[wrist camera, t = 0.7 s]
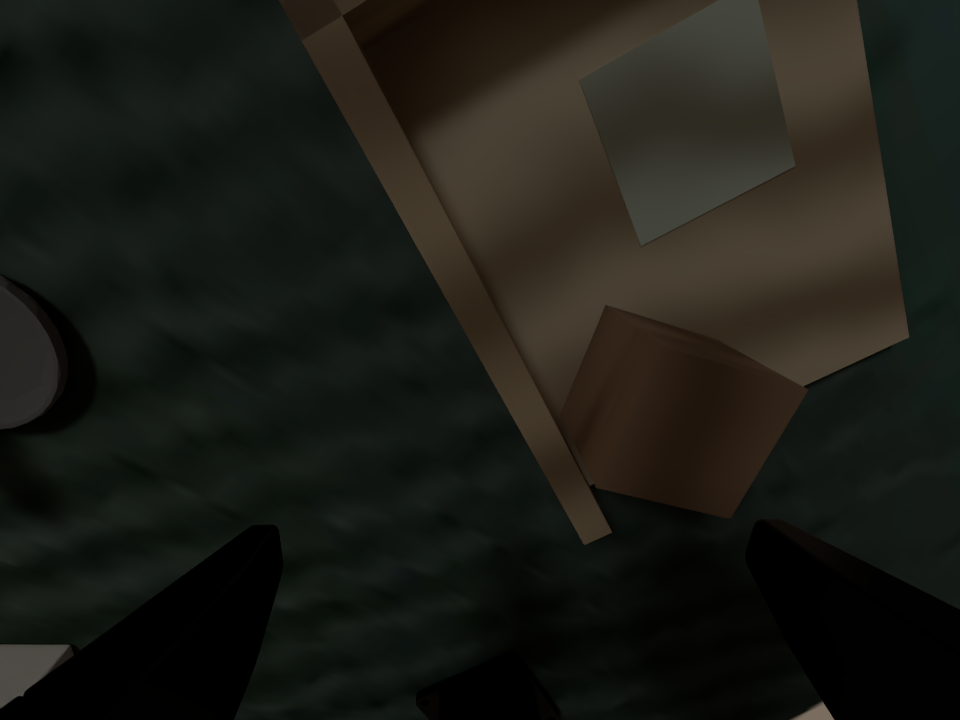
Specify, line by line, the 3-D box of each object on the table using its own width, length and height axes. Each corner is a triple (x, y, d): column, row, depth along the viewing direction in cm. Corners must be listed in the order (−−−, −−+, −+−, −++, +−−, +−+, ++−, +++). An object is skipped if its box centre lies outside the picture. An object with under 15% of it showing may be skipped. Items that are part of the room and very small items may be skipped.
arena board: (887, 330, 20) (989, 362, 16) (560, 483, 22) (584, 544, 18) (785, -253, 13) (922, -432, 9) (316, 39, 15) (272, -12, 11)
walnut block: (716, 339, 18) (808, 389, 14) (663, 441, 20) (729, 519, 15) (605, 304, 17) (663, 346, 13) (559, 415, 19) (596, 488, 14)
